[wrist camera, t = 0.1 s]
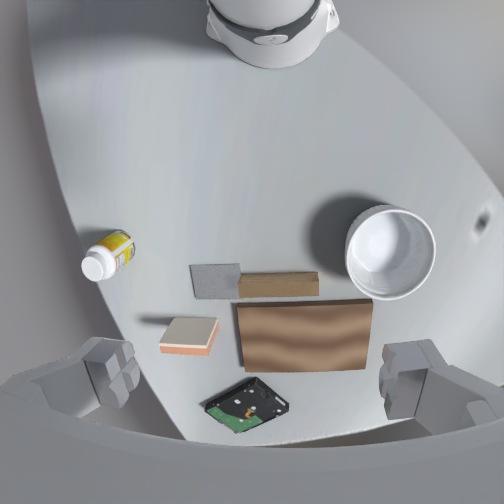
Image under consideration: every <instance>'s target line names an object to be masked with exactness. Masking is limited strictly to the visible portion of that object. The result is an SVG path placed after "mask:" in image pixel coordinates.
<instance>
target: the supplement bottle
mask: <svg viewBox="0 0 504 504" xmlns="http://www.w3.org/2000/svg"><path fill="white" fill-rule="evenodd" d="M135 251H136V246H135V242H134V240H133V238H132V237H131V236H130V235H129V234H128V233H126V232H124V231H115V232H113V233H111V234H110V235H108V236H107V237H105V238H104V239H102V240H101V241H99V242H98V243H96V244H95V245H93V246H92V247H91V248H89V250H88V251H87V253H86V257H85V258H84V259H83V261H82V270H83V272H84V274H85V276H86V277H87V278H88V279H90V280H92V281H99V280H100V279H108V278H110V277H112V276H113V275H114V274H115V273H116V272H117V271H118V270H119V269H121V268H122V267H123V266H124V265H125V264H126V263H127V262H128V261H130V260H131V259H132V258H133V256H134V254H135Z"/></svg>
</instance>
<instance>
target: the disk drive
mask: <svg viewBox="0 0 504 504" xmlns="http://www.w3.org/2000/svg"><path fill="white" fill-rule="evenodd" d="M288 411H289V403H288V402H286V401H285V400H284V399H283V398H281V397H280V396H279V395H278V394H277V393H276V392H274V391H273V390H272V389H271V388H270V387H268V386H267V385H266V384H265V383H264V382H262V381H261V380H260V379H259V378H258V377H255V378H253V379H251V380H249V381H247V382H246V383H244V384H243V385H241V386H239V387H237V388H235V389H234V390H232V391H230V392H228V393H226V394H224V395H223V396H221V397H219V398H217V399H214V400H212V401H211V402H209V403H207V404H206V407H205V412H206V413H208V414H209V415H210V416H212V417H213V418H214V419H216V420H217V421H218V422H219V423H221V424H222V423H223V424H224V425H225V426H227V427H228V428H229V429H231V430H232V431H234V433H241V432H245V431H248V430H250V429H252V428H254V427H257V426H259V425H261V424H263V423H265V422H268V421H270V420H272V419H274V418H276V417H278V416H281V415H283V414H284V413H286V412H288Z"/></svg>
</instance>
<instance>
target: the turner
mask: <svg viewBox="0 0 504 504" xmlns="http://www.w3.org/2000/svg"><path fill="white" fill-rule="evenodd" d="M191 272H192V278H193V284H194V289H195V295H196V299H243V298H254V297H298V296H319V279H318V272H302V273H270V274H241V268H240V264H215V265H191Z"/></svg>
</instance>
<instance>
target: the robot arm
mask: <svg viewBox="0 0 504 504" xmlns="http://www.w3.org/2000/svg"><path fill="white" fill-rule="evenodd" d="M207 5H208V6H210V8H209V14H208V15H207V17H208V21H207V27H206V32H207V34H208V36H209V37H210V38H212V39H214V40H216V41H218V42H221V43H223V44H225V45H226V46H227V47H228V48H229V49H230V50H231V51H232V52H233V53H234V54H235V55H236V56H237V57H238V58H240V59H241V60H243V61H245V62H247V63H249V64H251V65H254V66H257V67H261V68H269V69H276V68H285V67H289V66H292V65H295V64H297V63H299V62H301V61H303V60H305V59H306V58H307V57H309V56H310V55H311V54H312V53H313V52H314V51H315V50H316V48H317V47H318V45H319V44H320V42H321V40H322V39H323V38H324V37H325V36H326V35H327V34H329V33H331V32H332V31H334V30H335V29H336V28H337V27H338V26H339V18H338V15H337V13H336V10H335V8H334V5H333V3H332V0H207ZM330 14H331V16H330ZM134 353H135V351H134V348H133V345H132V343H130V342H129V341H123V340H115V339H108V338H101V337H91V338H90V339H89V340H88V341H87V342H86V343H85V344H83V345H82V346H81V347H80V348H79V349H78V350H77V351H76V352H75V353H74V354H72V355H71V356H70V357H69V358H67V357H65V358H62V359H59V360H56V361H54V362H50V363H48V364H45V365H42V366H39V367H36V368H33V369H30V370H27V371H24V372H21V373H18V374H15V375H13V376H12V377H11V378H9V379H8V380H7V381H6V382H5V383H4V384H3V385H1V386H0V504H504V389H503V388H501V387H498V386H496V385H494V384H492V383H490V382H487V381H485V380H483V379H481V378H479V377H477V376H474V375H472V374H470V373H468V372H466V371H464V370H462V369H459V368H457V367H455V366H453V365H450V366H448V365H447V363H446V362H445V360H444V359H443V357H442V356H441V354H440V353H439V351H438V349H437V348H436V346H435V345H434V343H433V342H432V340H430V339H425V340H418V341H410V342H402V343H393V344H385V345H384V348H383V353H382V358H383V360H384V364H383V365H382V367H381V368H380V373H379V389H380V394H381V397H383V398H384V399H385V403H384V408H385V411H386V415H387V418H388V420H394V419H404V418H413V417H414V419H415V420H417V421H418V422H419V423H420V424H421V425H423V426H424V427H425V428H426V429H427V430H428V431H430V432H431V433H432V434H433V436H428V437H422V438H416V439H409V440H403V441H396V442H388V443H380V444H370V445H360V446H346V447H331V448H260V447H242V446H228V445H218V444H208V443H199V442H192V441H184V440H176V439H171V438H165V437H159V436H153V435H148V434H143V433H138V432H133V431H128V430H124V429H120V428H115V427H111V426H107V425H103V424H99V423H95V422H92V421H88V420H84V419H81V417H82V416H84V415H86V414H87V413H89V412H91V411H92V410H94V409H96V408H97V407H99V406H100V405H105V406H110V407H116V408H122V406H123V405H124V403H125V402H126V401H127V399H128V398H129V394H128V392H129V391H131V390H133V389H135V388H136V386H137V385H138V382H139V378H140V370H139V366H138V363H137V362H136V361H135V360H134V359H133V356H134Z"/></svg>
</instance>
